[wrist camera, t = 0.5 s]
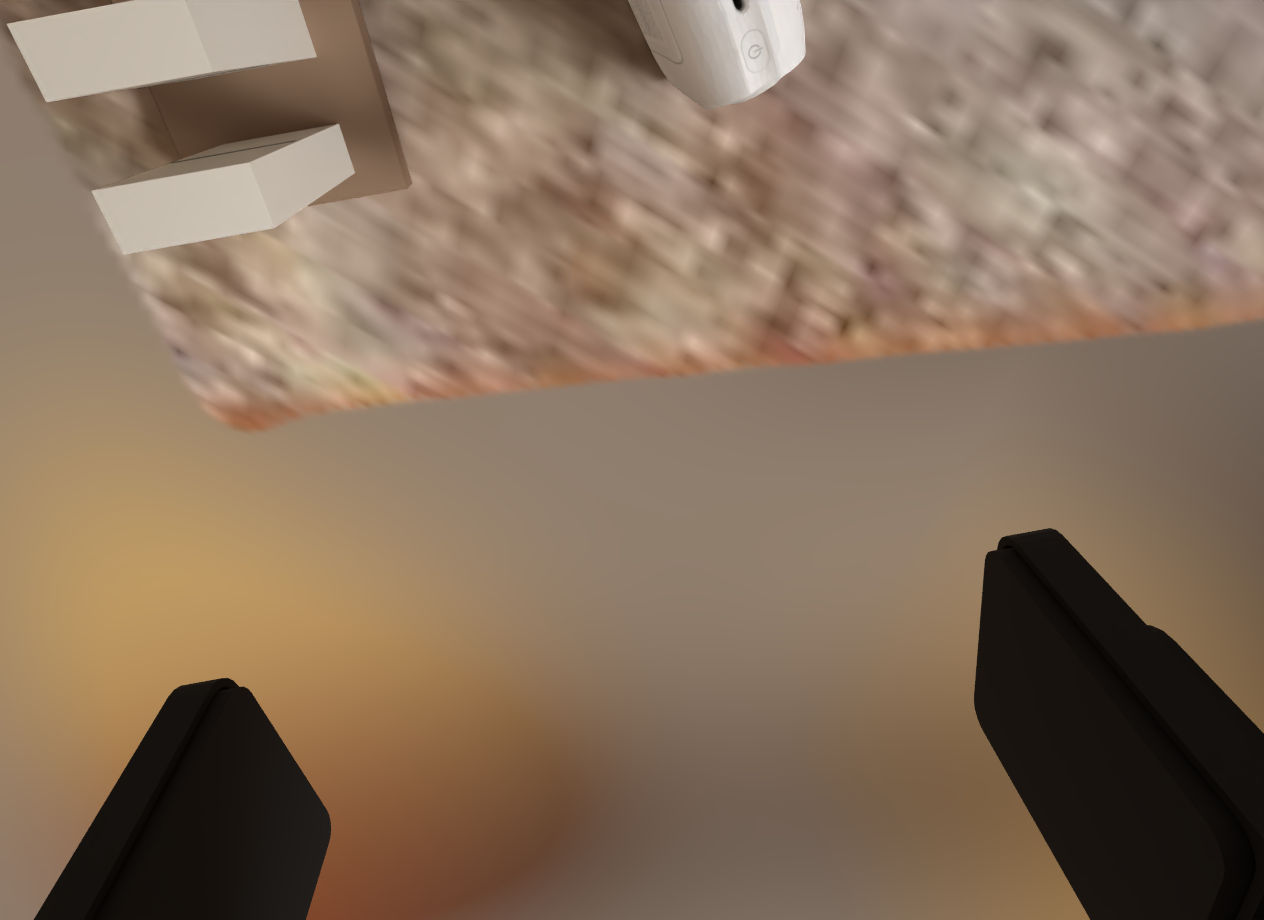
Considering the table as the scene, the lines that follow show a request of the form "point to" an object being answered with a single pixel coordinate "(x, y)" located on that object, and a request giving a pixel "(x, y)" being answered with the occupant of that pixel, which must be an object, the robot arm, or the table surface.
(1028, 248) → the table surface
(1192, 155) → the table surface
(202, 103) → the domino board
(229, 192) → the domino
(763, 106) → the table surface
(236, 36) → the domino
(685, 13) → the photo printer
